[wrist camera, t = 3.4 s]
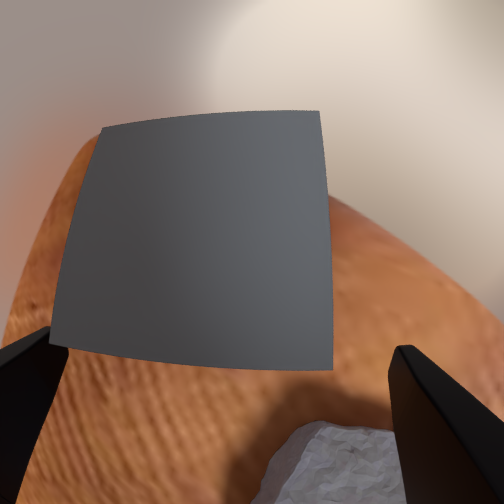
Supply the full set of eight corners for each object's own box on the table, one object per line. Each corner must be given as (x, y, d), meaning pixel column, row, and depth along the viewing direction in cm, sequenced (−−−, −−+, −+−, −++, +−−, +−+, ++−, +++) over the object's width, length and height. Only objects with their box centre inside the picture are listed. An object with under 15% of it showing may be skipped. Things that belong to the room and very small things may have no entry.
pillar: (297, 369, 16) (333, 370, 4) (203, 365, 17) (49, 343, 5) (298, 278, 18) (319, 110, 6) (210, 277, 18) (102, 127, 7)
